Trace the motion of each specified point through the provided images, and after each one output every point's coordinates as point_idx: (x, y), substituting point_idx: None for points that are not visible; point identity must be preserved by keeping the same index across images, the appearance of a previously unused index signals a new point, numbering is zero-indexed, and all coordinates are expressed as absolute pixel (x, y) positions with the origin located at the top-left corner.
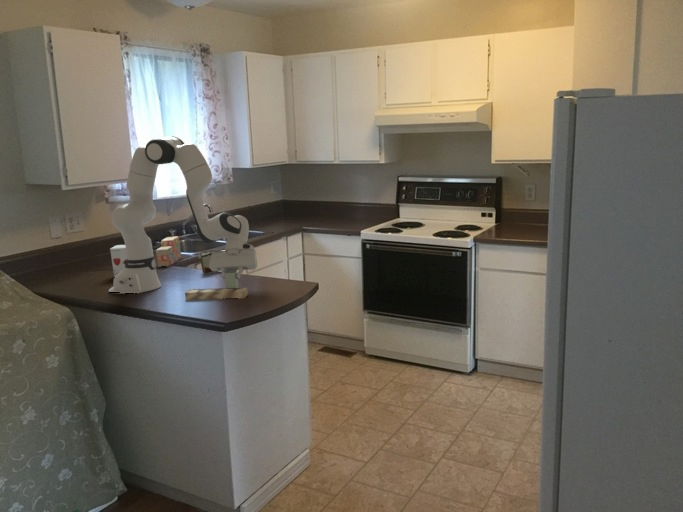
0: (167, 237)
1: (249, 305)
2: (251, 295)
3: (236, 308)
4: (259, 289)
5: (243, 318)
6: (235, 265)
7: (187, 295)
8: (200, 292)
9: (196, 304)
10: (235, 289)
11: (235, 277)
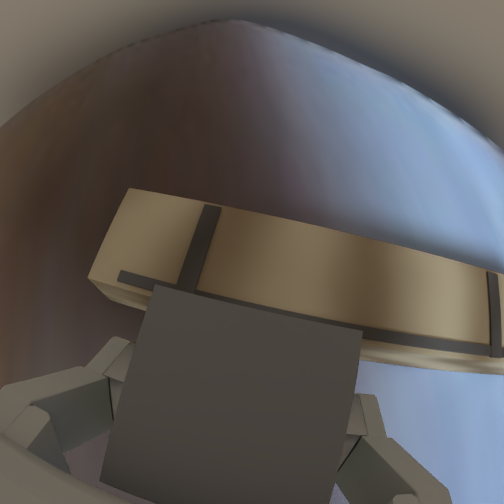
0: None
1: (138, 107)
2: None
3: (201, 86)
4: None
5: (183, 28)
6: (65, 485)
7: None
8: (475, 267)
9: (432, 196)
10: (191, 246)
11: None
